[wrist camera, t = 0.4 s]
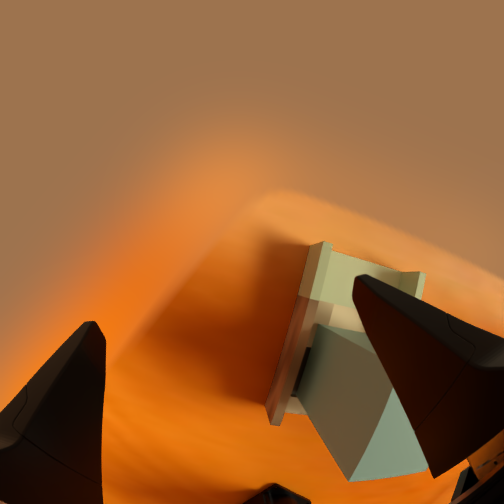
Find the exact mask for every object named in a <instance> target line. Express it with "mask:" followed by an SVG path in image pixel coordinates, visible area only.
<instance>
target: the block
mask: <svg viewBox="0 0 504 504" xmlns="http://www.w3.org/2000/svg"><path fill="white" fill-rule="evenodd" d="M296 396H297V398H298V399H299V401H300V403H301V404H302V406H303V408H304V410H305V411H306V413H307V415H308V416H309V418H310V420H311V421H312V423H313V425H314V427H315V428H316V430H317V432H318V433H319V435H320V437H321V438H322V440H323V442H324V443H325V445H326V446H327V448H328V450H329V451H330V453H331V455H332V456H333V458H334V460H335V461H336V463H337V464H338V466H339V468H340V469H341V471H342V472H343V474H344V476H345V477H346V479H347V480H348V482H353V481H365V480H374V479H382V478H389V477H396V476H402V475H407V474H412V473H417V472H422V471H426V469H427V468H428V464H427V461H426V459H425V457H424V454H423V452H422V450H421V447H420V445H419V443H418V440H417V438H416V436H415V433H414V432H415V431H413V429H412V426H411V424H410V422H409V420H408V418H407V415H406V413H405V411H404V409H403V407H402V405H401V403H400V400H399V398H398V396H397V394H396V392H395V390H394V388H393V386H392V384H391V382H390V380H389V378H388V376H387V374H386V372H385V370H384V368H383V366H382V364H381V362H380V360H379V358H378V356H377V354H376V352H375V350H374V348H373V347H372V345H371V343H370V341H369V339H368V337H367V335H366V333H362V332H357V331H352V330H347V329H342V328H337V327H332V326H328V325H323V324H318V326H317V330H316V333H315V337H314V340H313V343H312V347H311V350H310V353H309V357H308V360H307V363H306V366H305V369H304V372H303V375H302V378H301V381H300V384H299V387H298V390H297V393H296Z"/></svg>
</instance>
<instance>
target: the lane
mask: <svg viewBox="0 0 504 504" xmlns="http://www.w3.org/2000/svg"><path fill="white" fill-rule="evenodd" d="M318 324H323V325H328V326H332V327H337V328H342V329H347V330H352V331H357V332H362V333H366V332H365V330H364V327H363V325H362V322H361V320H360V317H359V315H358V312H357V310H356V309H354V308H350V307H345V306H341V305H337V304H333V303H329V302H324V301H320V300H319V301H318V300H314V299H309V298H306V297H303V296H300V295H297V299H296V303H295V307H294V310H293V314H292V318H291V321H290V325H289V328H288V332H287V335H286V339H285V342H284V346H283V349H282V352H281V356H280V359H279V362H278V366H277V369H276V372H275V375H274V379H273V382H272V385H271V388H270V391H269V394H268V397H267V400H266V403H265V408H266V411H267V415H268V418H269V422H270V425H275V426H280V424H281V421H282V419H283V416H284V413H285V412H287V413H295V414H303V415H307V413H306V411H305V410H304V408H303V406H302V404H301V403H300V401H299V399H298V398H297V396H296V393H297V390H298V387H299V384H300V381H301V378H302V375H303V372H304V369H305V366H306V363H307V360H308V357H309V353H310V350H311V347H312V343H313V340H314V337H315V333H316V330H317V326H318Z"/></svg>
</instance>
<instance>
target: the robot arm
mask: <svg viewBox="0 0 504 504" xmlns="http://www.w3.org/2000/svg"><path fill="white" fill-rule="evenodd" d="M352 300H353V303H354V305H355V307H356V310H357V312H358V315H359V317H360V320H361V322H362V325H363V327H364V330H365V332H366V335H367V337H368V339H369V341H370V343H371V345H372V347H373V348H374V350H375V352H376V354H377V356H378V358H379V360H380V362H381V364H382V366H383V368H384V370H385V372H386V374H387V376H388V378H389V380H390V382H391V384H392V386H393V388H394V390H395V392H396V394H397V396H398V398H399V400H400V403H401V405H402V407H403V409H404V411H405V413H406V415H407V418H408V420H409V422H410V424H411V426H412V429H413V431H415V432H414V433H415V436H416V438H417V440H418V443H419V445H420V447H421V450H422V452H423V454H424V457H425V459H426V461H427V464H428V466H429V469H430V471H431V474H432V476H433V478H434V479H435V478H436V477H438V476H440V475H441V474H443V473H445V472H446V471H448V470H449V469H451V468H453V467H454V466H456V465H457V464H459V463H460V462H462V461H463V460H465V459H466V458H467V460H468V462H469V464H470V466H469V467H467V468H466V469H465V470H463V471H462V472H461V473H460V476H459V479H458V482H457V485H456V488H455V491H454V494H453V496H452V499H451V502H450V503H449V504H504V338H502V337H500V336H497V335H495V334H492V333H490V332H488V331H485V330H483V329H480V328H478V327H476V326H473V325H471V324H469V323H466V322H464V321H462V320H460V319H458V318H456V317H454V316H452V315H450V314H448V313H446V312H444V311H442V310H440V309H438V308H436V307H434V306H432V305H430V304H428V303H426V302H424V301H422V300H420V299H418V298H416V297H414V296H412V295H410V294H408V293H405V292H403V291H401V290H399V289H397V288H395V287H393V286H391V285H389V284H387V283H385V282H383V281H380V280H378V279H376V278H374V277H372V276H370V275H368V274H362V275H358V276H356V277H355V278H354V283H353V290H352ZM105 377H106V339H105V337H104V335H103V333H102V332H101V330H100V328H99V326H98V325H97V323H96V322H95V321H87V322H84V323H83V324H82V325H81V326H80V327H79V328H78V329H77V330H76V331H75V332H74V333H73V334H72V335H71V336H70V337H69V338H68V339H67V340H66V341H65V342H64V343H63V344H62V345H61V346H60V348H59V349H58V350H57V351H56V352H55V353H54V354H53V355H52V356H51V357H50V358H49V359H48V360H47V361H46V362H45V364H44V365H43V366H42V367H41V368H40V369H39V370H38V371H37V373H36V374H35V375H34V376H33V377H32V378H31V379H30V380H29V382H28V383H27V385H25V386H24V387H23V388H22V390H21V391H20V392H19V393H18V394H17V395H16V397H14V399H13V400H12V401H11V402H10V403H9V404H8V405H7V406H6V407H5V408H4V409H3V410H2V411H1V412H0V504H103V492H102V470H101V444H102V418H103V403H104V391H105ZM276 487H277V488H276ZM243 504H311V501H310V500H309V499H307V498H305V497H303V496H301V495H298V494H296V493H294V492H292V491H290V490H288V489H287V488H285V487H283V486H281V485H279V484H274V485H272V486H270V487H269V488H267V489H266V490H264V491H263V492H261V493H260V494H258V495H256V496H255V497H253V498H252V499H250V500H248V501H247V502H245V503H243Z"/></svg>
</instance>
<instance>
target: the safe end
mask: <svg viewBox="0 0 504 504" xmlns="http://www.w3.org/2000/svg"><path fill="white" fill-rule="evenodd" d="M332 246H333V244H332V243H328V242H325V241H323V242H320V243H317V244H314V245H311V246H310V248H309V252H308V256H307V260H306V264H305V268H304V272H303V276H302V280H301V284H300V288H299V291H298V295H300V296H303V297H306V298H309V299H314V300H318V301H319V300H320V301H324V302H329V303H333V304H337V305H341V306H345V307H350V308H354V309H356V307H355V305H354V303H353V300H352V290H353V283H354V278H355V277H356V276H358V275H362V274H368V275H370V276H372V277H374V278H376V279H378V280H380V281H383V282H385V283H387V284H389V285H391V286H393V287H395V288H397V289H399V290H401V291H403V292H405V293H408V294H410V295H412V296H414V297H416V298H418V299H420V300H421V297H422V293H423V288H424V283H425V277H426V273H423V272H400V271H397V270H394V269H391V268H388V267H384V266H381V265H378V264H375V263H371V262H368V261H365V260H362V259H358V258H355V257H352V256H348V255H345V254H342V253H338V252H335V251H332Z"/></svg>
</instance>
